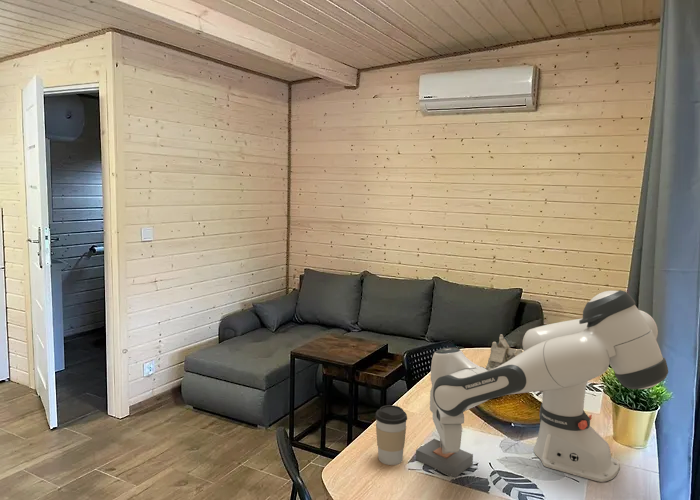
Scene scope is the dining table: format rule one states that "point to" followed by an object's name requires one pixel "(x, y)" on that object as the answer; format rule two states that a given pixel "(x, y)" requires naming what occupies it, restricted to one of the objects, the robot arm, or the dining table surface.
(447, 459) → the block
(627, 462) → the dining table surface
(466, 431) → the dining table surface
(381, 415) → the coffee cup
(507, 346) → the ceramic cottage
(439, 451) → the button
